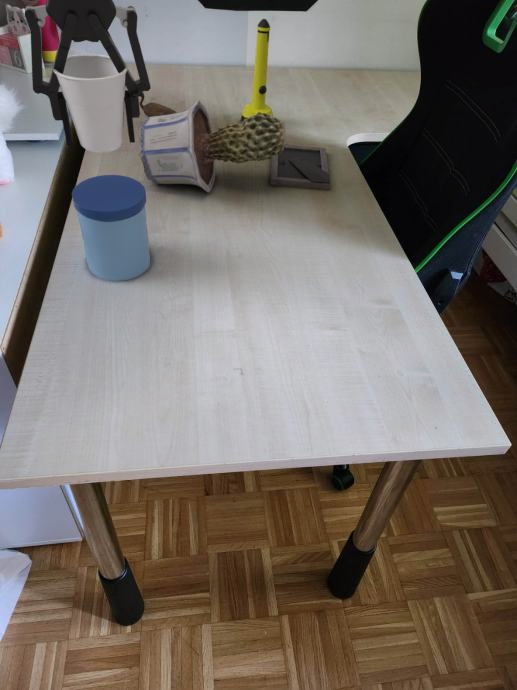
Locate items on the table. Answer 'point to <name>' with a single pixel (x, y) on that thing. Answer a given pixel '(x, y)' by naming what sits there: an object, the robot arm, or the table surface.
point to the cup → (94, 100)
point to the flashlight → (259, 74)
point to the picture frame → (300, 168)
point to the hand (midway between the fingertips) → (101, 139)
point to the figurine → (154, 108)
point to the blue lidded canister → (113, 226)
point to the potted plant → (203, 145)
